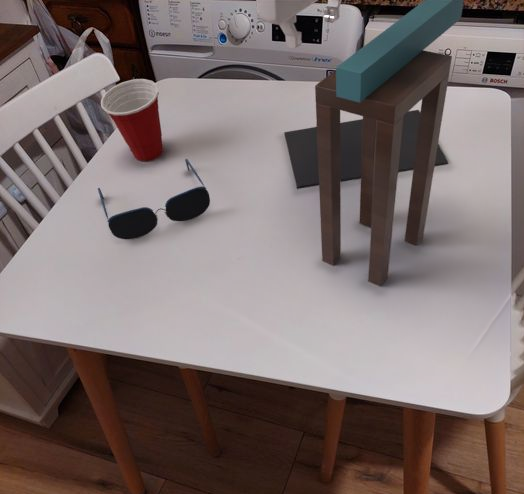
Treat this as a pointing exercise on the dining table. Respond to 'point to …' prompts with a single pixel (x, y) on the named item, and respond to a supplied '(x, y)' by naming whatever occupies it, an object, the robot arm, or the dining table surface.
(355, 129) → the mat
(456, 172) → the dining table surface
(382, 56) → the rail
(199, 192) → the sunglasses
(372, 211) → the stand
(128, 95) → the plastic cup
